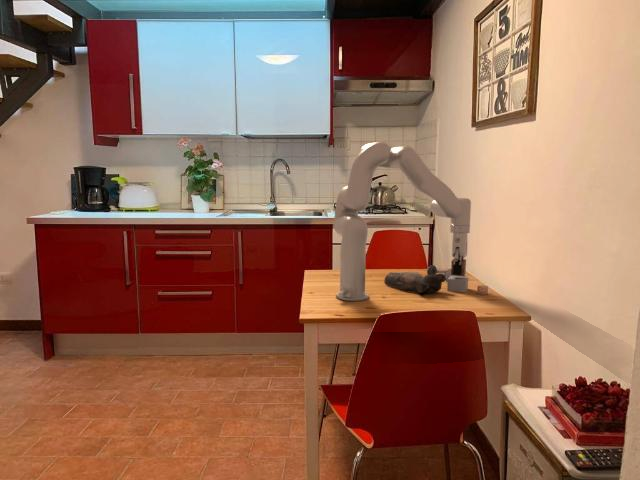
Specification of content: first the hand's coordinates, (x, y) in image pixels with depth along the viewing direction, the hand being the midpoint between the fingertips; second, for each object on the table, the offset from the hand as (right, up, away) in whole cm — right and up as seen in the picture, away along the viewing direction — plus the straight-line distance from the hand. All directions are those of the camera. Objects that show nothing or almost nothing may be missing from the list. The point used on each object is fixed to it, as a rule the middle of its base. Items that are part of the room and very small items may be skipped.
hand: (458, 272), depth 193 cm
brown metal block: (0, -1, 0) cm, 1 cm away
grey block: (0, -7, +1) cm, 7 cm away
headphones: (0, -4, +23) cm, 23 cm away
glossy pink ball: (+8, -8, -6) cm, 13 cm away
